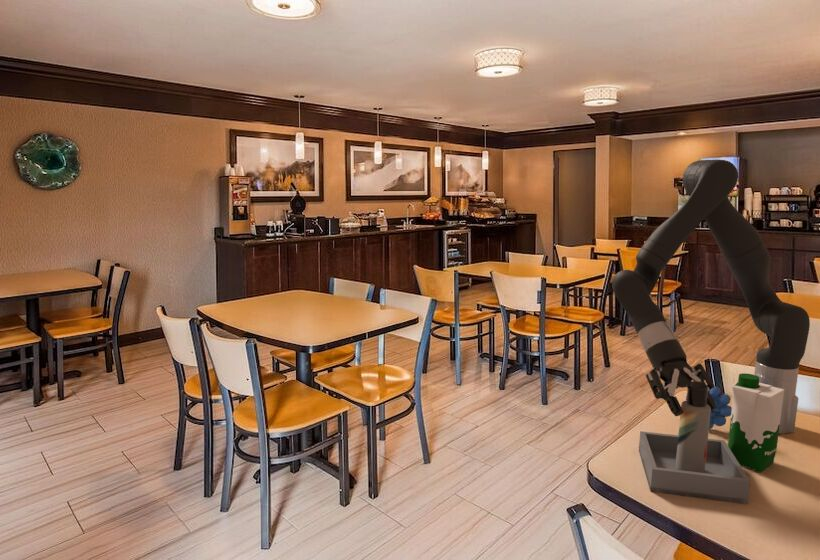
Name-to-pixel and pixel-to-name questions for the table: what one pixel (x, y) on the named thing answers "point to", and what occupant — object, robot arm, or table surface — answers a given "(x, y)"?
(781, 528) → the table surface
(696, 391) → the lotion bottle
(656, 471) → the bin
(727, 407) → the grapes
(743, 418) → the milk carton
